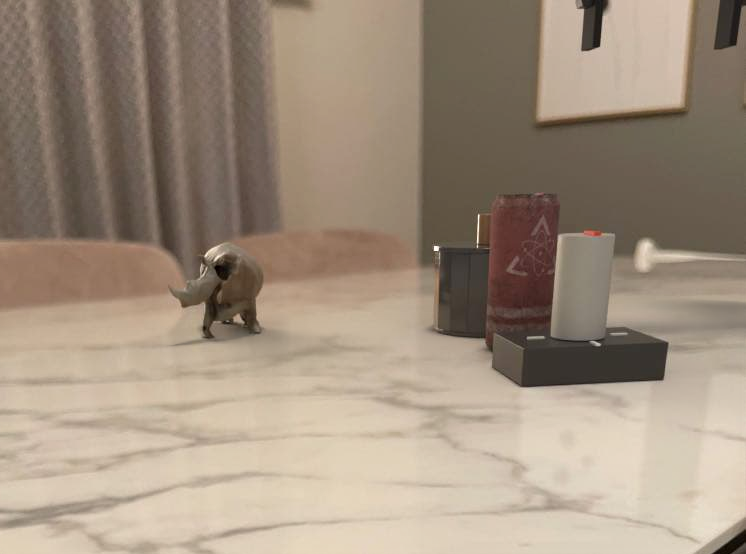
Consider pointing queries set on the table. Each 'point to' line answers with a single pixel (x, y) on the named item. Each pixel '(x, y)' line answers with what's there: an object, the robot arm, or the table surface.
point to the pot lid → (470, 246)
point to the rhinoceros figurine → (225, 287)
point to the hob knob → (582, 285)
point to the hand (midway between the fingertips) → (658, 48)
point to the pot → (461, 293)
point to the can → (522, 263)
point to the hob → (578, 357)
